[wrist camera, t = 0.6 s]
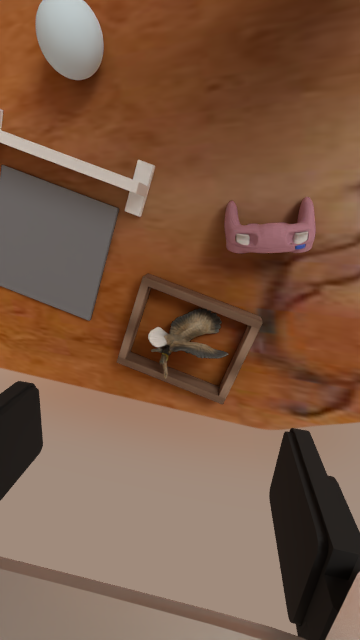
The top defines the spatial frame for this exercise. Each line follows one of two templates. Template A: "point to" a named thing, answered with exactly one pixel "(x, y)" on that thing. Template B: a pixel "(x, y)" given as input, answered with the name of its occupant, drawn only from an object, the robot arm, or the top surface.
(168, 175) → the top surface
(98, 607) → the robot arm
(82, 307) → the mat
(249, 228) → the video game controller
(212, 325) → the eagle figurine
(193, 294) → the rim
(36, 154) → the divider wall
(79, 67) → the rubber ball
